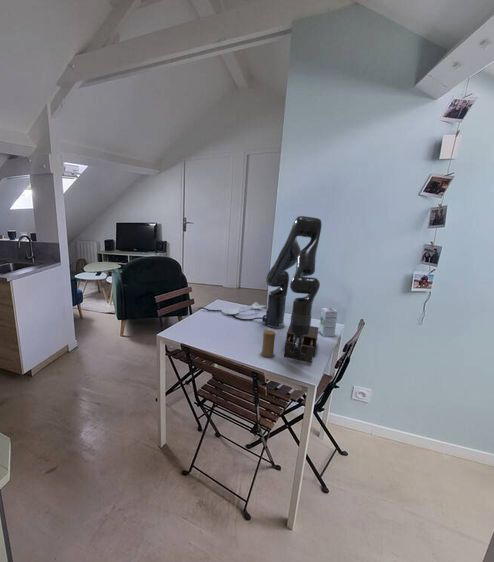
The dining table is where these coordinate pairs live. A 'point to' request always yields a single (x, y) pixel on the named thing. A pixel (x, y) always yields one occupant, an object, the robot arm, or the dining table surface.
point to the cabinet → (307, 336)
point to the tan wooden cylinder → (268, 343)
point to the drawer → (305, 351)
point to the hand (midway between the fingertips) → (296, 357)
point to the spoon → (235, 311)
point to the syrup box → (328, 321)
